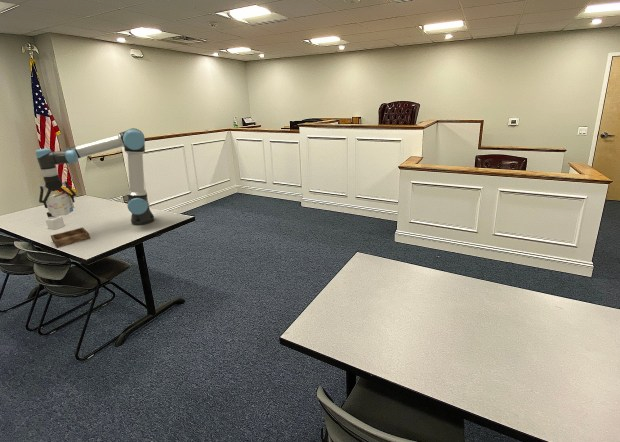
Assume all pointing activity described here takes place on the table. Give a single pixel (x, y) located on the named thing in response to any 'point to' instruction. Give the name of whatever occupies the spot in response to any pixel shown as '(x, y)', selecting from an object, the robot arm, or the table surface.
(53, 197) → the ink box
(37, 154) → the robot arm
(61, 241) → the walnut tray
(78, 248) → the table surface
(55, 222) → the medicine bottle
